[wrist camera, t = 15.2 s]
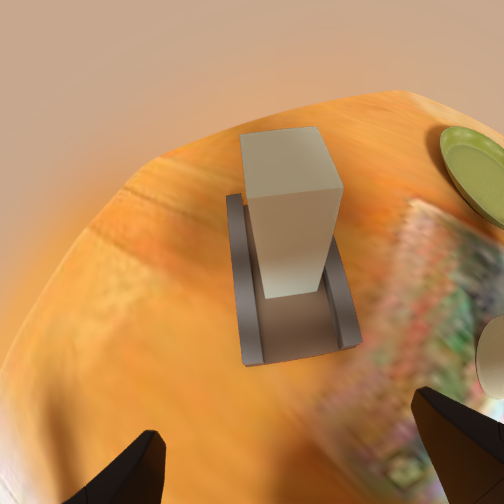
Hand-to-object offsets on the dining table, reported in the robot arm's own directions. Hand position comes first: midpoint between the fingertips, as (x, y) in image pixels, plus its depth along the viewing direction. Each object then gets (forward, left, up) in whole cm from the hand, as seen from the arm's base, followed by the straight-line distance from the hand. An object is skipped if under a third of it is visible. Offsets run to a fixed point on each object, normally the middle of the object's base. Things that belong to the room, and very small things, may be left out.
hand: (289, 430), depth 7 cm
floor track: (+6, -10, -14) cm, 18 cm away
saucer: (-15, -38, -14) cm, 43 cm away
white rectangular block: (+6, -10, -13) cm, 18 cm away
